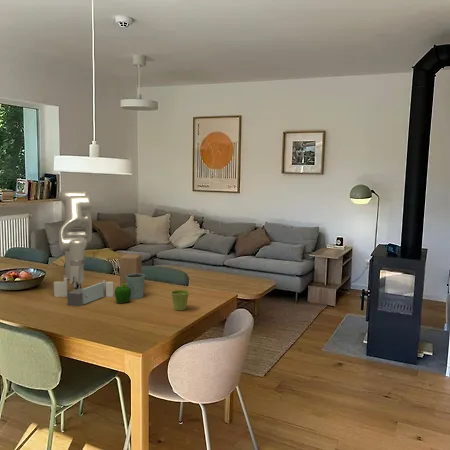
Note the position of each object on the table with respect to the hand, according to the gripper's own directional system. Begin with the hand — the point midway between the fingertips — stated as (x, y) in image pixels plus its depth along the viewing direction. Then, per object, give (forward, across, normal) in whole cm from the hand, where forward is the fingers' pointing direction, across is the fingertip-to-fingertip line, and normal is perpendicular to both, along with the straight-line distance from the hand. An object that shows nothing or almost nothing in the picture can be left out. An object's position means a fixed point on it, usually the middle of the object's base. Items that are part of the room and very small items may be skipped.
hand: (78, 295), depth 242 cm
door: (0, +6, +10) cm, 12 cm away
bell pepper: (+1, +8, +26) cm, 27 cm away
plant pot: (+1, +18, +57) cm, 60 cm away
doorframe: (+1, -2, +3) cm, 4 cm away
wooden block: (+1, -16, +26) cm, 30 cm away
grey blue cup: (+1, -2, +30) cm, 31 cm away
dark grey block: (+1, +9, +4) cm, 10 cm away
